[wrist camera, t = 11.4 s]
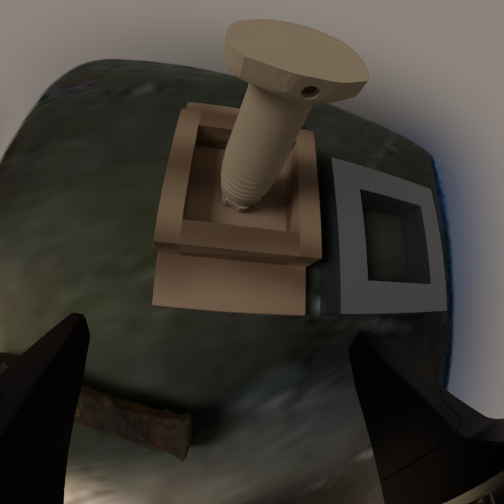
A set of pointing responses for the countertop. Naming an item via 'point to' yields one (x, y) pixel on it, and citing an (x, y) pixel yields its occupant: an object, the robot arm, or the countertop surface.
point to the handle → (279, 97)
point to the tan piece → (233, 226)
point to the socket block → (354, 244)
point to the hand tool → (129, 419)
